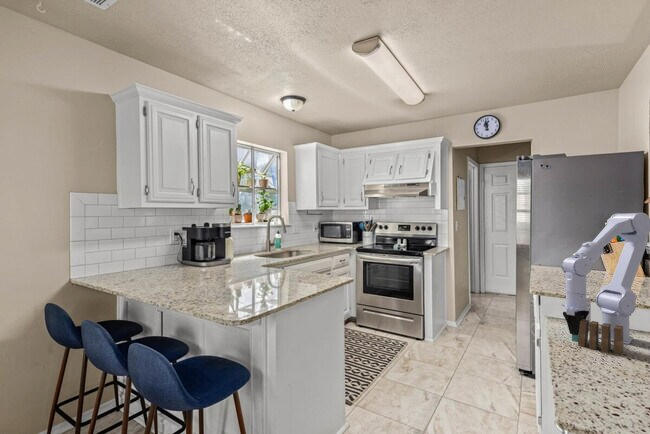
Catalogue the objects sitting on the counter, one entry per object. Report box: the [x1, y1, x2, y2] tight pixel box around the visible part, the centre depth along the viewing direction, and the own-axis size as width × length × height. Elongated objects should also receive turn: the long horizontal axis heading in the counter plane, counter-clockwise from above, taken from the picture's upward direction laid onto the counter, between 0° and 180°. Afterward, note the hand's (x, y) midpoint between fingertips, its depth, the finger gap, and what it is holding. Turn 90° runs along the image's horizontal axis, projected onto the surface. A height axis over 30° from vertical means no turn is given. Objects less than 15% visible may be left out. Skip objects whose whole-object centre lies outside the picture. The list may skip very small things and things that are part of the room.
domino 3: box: [588, 320, 600, 351], centre depth 108 cm, size 2×4×8 cm, turn 131°
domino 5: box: [613, 325, 624, 356], centre depth 104 cm, size 2×4×8 cm, turn 130°
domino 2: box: [577, 319, 589, 348], centre depth 110 cm, size 2×4×8 cm, turn 130°
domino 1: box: [571, 334, 579, 343], centre depth 116 cm, size 2×4×8 cm, turn 130°
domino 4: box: [600, 323, 612, 353], centre depth 106 cm, size 2×4×8 cm, turn 131°
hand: (576, 332), depth 116 cm, fingers open, 5 cm apart
